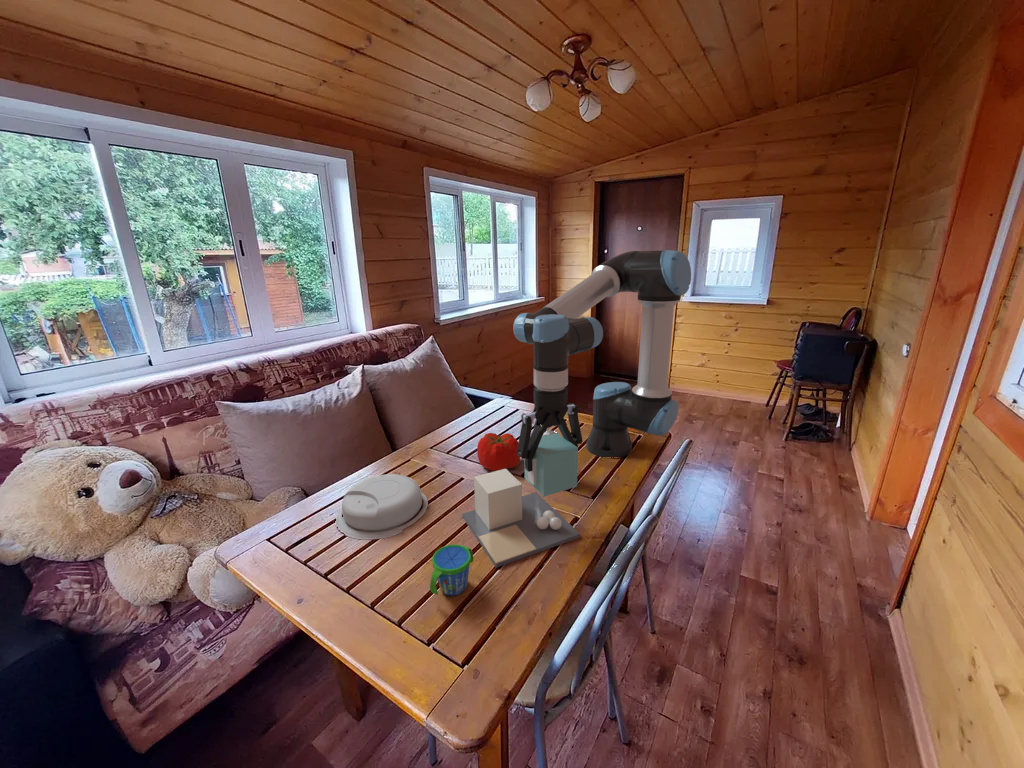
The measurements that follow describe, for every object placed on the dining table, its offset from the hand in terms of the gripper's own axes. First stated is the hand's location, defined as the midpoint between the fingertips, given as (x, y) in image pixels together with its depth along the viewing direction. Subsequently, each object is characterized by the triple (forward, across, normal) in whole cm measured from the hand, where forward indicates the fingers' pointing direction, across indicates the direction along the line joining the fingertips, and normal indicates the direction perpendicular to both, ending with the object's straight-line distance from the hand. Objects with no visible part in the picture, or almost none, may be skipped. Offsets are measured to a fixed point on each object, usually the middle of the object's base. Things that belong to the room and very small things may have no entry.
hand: (550, 476), depth 101 cm
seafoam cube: (+1, 0, 0) cm, 1 cm away
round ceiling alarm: (+15, +35, -28) cm, 47 cm away
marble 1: (+13, +2, 0) cm, 14 cm away
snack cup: (+14, +28, +7) cm, 32 cm away
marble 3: (+13, 0, +2) cm, 14 cm away
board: (+14, +6, -4) cm, 16 cm away
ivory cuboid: (+13, +10, -10) cm, 19 cm away
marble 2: (+13, 0, -1) cm, 14 cm away
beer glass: (+15, -12, -20) cm, 27 cm away
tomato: (+15, -2, -35) cm, 38 cm away
